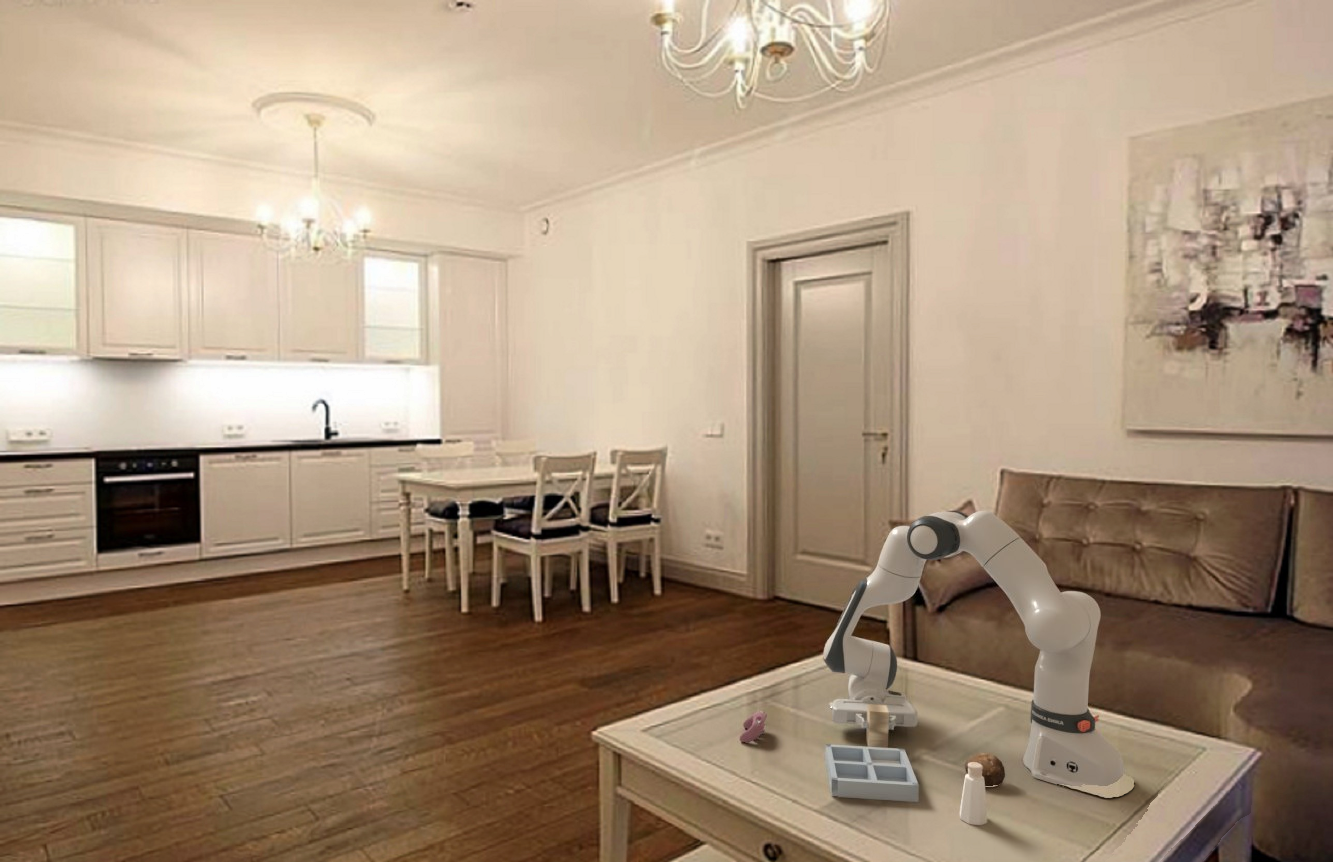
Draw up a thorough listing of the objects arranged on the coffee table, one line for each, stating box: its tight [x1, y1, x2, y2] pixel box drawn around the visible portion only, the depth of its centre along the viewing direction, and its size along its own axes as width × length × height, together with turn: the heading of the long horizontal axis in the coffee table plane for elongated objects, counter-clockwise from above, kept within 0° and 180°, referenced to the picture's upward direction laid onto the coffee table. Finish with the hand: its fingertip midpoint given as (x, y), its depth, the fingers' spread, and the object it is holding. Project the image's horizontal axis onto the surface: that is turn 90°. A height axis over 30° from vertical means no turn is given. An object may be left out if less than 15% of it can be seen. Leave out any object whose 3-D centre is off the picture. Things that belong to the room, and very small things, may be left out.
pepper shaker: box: [959, 762, 988, 826], centre depth 169 cm, size 5×5×11 cm
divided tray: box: [824, 743, 920, 803], centre depth 185 cm, size 18×18×4 cm
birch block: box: [865, 704, 889, 748], centre depth 203 cm, size 4×4×9 cm
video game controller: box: [739, 710, 768, 744], centre depth 207 cm, size 10×5×7 cm, turn 169°
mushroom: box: [964, 752, 1006, 786], centre depth 185 cm, size 8×8×6 cm
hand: (878, 726), depth 202 cm, fingers closed on birch block, 4 cm apart
